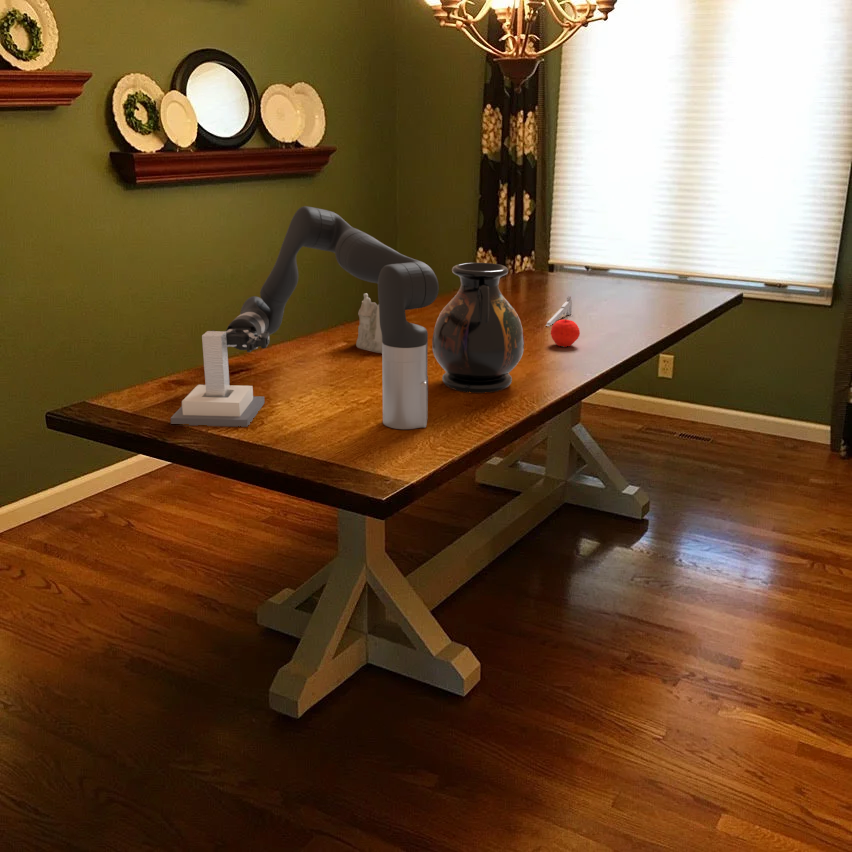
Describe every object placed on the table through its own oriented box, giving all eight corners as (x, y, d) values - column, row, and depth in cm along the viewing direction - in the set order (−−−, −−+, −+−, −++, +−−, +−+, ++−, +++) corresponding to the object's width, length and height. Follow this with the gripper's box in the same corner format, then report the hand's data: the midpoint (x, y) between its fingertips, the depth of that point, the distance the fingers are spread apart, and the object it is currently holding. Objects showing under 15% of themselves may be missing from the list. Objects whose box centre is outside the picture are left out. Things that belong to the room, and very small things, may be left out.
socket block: (264, 402, 207) (263, 383, 206) (247, 426, 192) (246, 405, 190) (193, 401, 208) (191, 381, 206) (171, 424, 193) (169, 404, 191)
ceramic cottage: (382, 355, 246) (383, 298, 242) (345, 345, 258) (345, 291, 254) (426, 349, 256) (428, 294, 252) (388, 340, 268) (389, 288, 264)
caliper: (568, 314, 296) (569, 295, 294) (571, 315, 295) (572, 295, 293) (545, 327, 279) (546, 307, 277) (548, 328, 278) (549, 307, 276)
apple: (584, 347, 256) (586, 320, 254) (563, 351, 252) (564, 324, 250) (565, 341, 263) (566, 315, 260) (543, 344, 258) (545, 318, 256)
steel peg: (230, 404, 201) (226, 331, 196) (226, 409, 197) (221, 336, 192) (212, 403, 201) (207, 331, 196) (207, 409, 198) (201, 335, 192)
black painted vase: (529, 397, 212) (535, 275, 203) (435, 399, 211) (436, 275, 202) (514, 371, 233) (519, 258, 223) (428, 372, 231) (429, 259, 222)
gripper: (215, 314, 221) (196, 330, 206) (275, 315, 220) (260, 331, 205) (217, 345, 223) (198, 363, 208) (276, 346, 223) (262, 364, 207)
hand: (229, 347), depth 206 cm, fingers open, 8 cm apart
